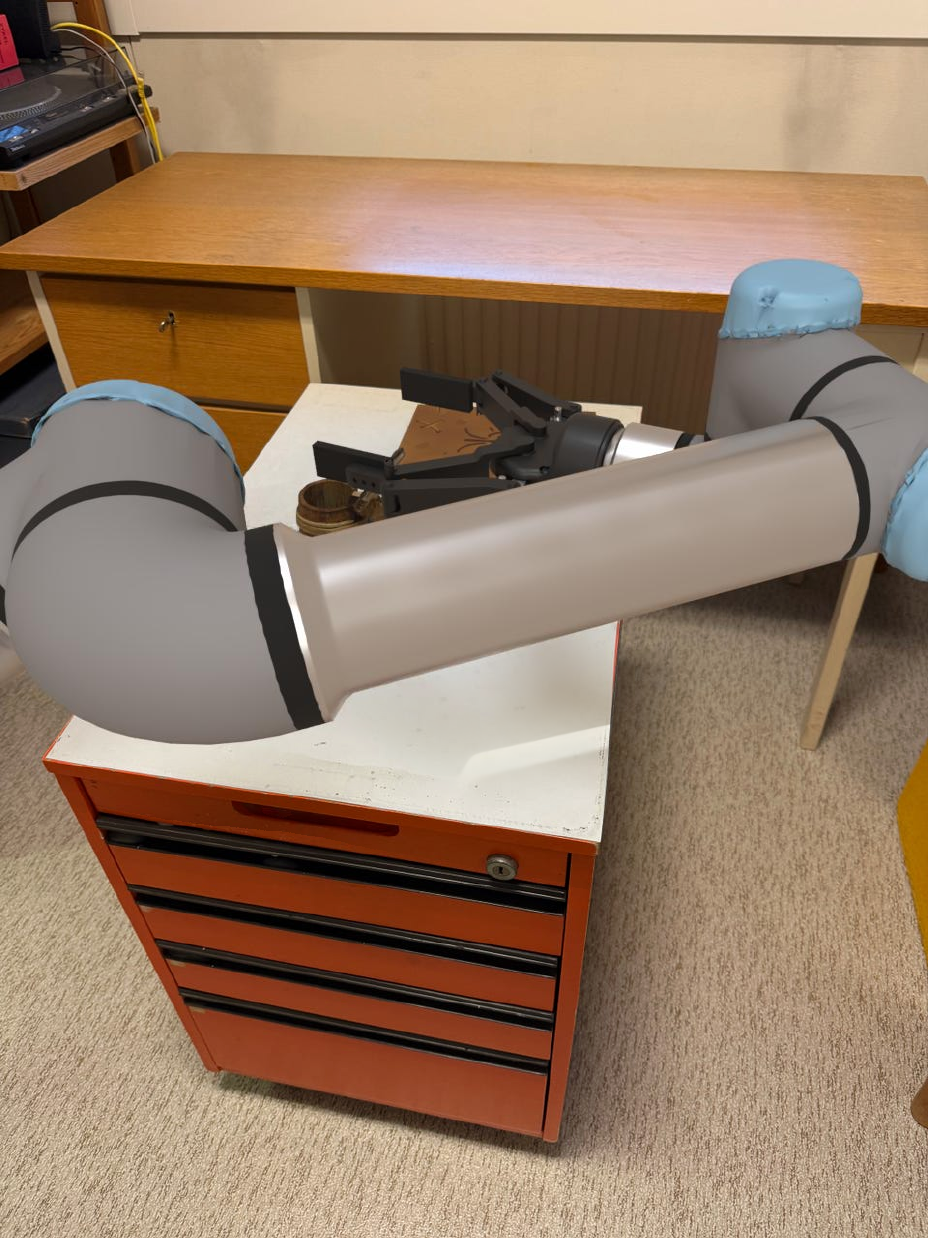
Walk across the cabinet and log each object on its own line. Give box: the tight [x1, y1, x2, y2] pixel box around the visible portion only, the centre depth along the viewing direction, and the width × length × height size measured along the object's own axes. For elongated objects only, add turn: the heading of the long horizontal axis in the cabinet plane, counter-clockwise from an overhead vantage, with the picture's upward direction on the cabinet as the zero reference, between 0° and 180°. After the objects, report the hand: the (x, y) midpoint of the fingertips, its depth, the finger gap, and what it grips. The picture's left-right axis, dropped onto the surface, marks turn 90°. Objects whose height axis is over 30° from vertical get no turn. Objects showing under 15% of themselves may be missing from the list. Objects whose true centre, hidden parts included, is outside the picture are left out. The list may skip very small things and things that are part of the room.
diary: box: [397, 403, 597, 480], centre depth 108 cm, size 23×19×6 cm
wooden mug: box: [295, 447, 406, 537], centre depth 88 cm, size 9×14×18 cm, turn 65°
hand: (362, 418), depth 71 cm, fingers open, 13 cm apart
